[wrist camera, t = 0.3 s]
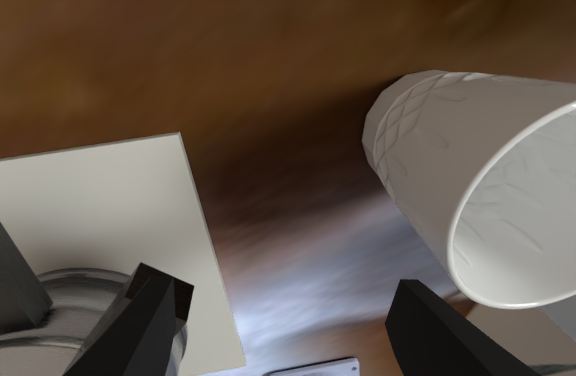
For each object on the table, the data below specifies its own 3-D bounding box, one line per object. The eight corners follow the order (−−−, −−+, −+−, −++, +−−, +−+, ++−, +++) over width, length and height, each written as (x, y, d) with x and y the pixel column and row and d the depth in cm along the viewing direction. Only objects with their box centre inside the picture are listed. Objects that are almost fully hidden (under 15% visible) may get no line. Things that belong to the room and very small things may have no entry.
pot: (213, 391, 27) (207, 459, 23) (66, 419, 26) (31, 494, 22) (122, 161, 17) (80, 205, 13) (-118, 198, 16) (-246, 257, 12)
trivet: (246, 360, 26) (246, 366, 26) (39, 399, 26) (35, 405, 25) (179, 131, 17) (177, 134, 17) (-148, 181, 16) (-159, 185, 16)
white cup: (332, 173, 19) (404, 295, 11) (385, 38, 16) (551, 50, 7) (439, 199, 21) (577, 321, 12) (505, 81, 18) (755, 133, 9)
